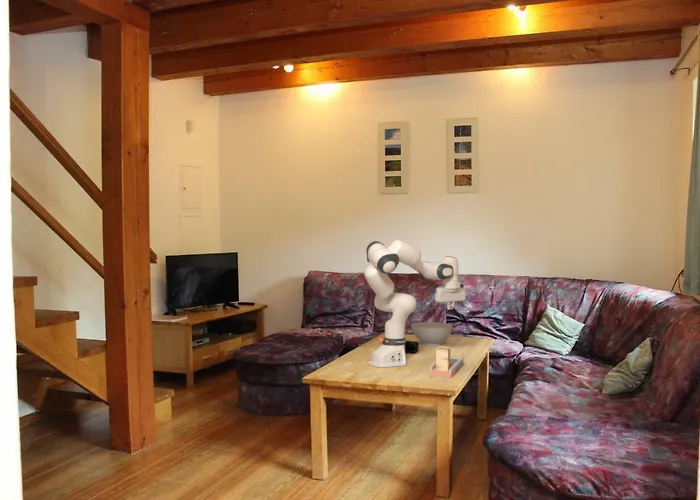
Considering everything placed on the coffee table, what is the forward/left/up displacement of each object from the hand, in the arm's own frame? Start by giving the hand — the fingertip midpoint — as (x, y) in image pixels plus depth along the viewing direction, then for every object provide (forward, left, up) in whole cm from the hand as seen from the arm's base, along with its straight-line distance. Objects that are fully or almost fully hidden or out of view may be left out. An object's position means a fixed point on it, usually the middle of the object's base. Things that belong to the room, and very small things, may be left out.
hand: (450, 309), depth 343 cm
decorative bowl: (+25, +44, -29) cm, 59 cm away
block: (-26, -24, -26) cm, 44 cm away
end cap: (-5, +30, -29) cm, 42 cm away
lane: (-18, -18, -29) cm, 38 cm away
